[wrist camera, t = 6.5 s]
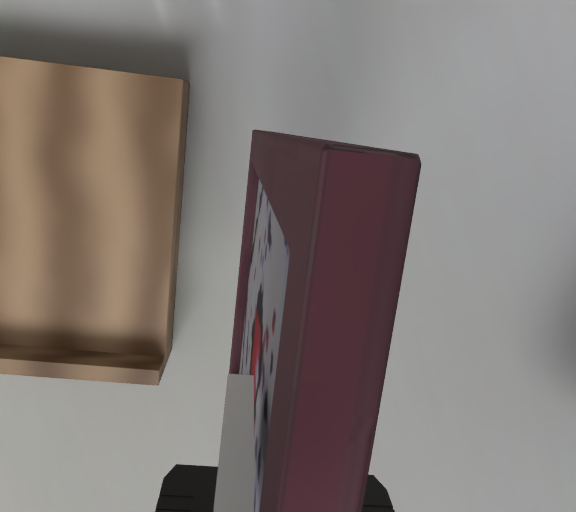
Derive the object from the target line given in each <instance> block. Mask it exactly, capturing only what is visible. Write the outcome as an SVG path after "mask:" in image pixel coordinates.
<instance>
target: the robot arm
mask: <svg viewBox="0 0 576 512" xmlns="http://www.w3.org/2000/svg"><path fill="white" fill-rule="evenodd" d="M155 512H254V376H253V375H241V374H228V380H227V389H226V398H225V407H224V417H223V426H222V435H221V445H220V454H219V463H218V467H211V466H195V465H179V464H176V465H175V466H174V467H173V469H172V470H171V471H170V472H169V473H168V474H167V475H166V476H165V477H164V479H163V483H162V487H161V491H160V495H159V498H158V502H157V506H156V511H155ZM362 512H395V511H394V510H393V506H392V503H391V500H390V497H389V495H388V492H387V490H386V488H385V487H384V486H383V485H382V484H381V483H380V482H379V481H378V480H377V479H376V478H375V476H374V475H368V478H367V483H366V489H365V495H364V501H363V507H362Z"/></svg>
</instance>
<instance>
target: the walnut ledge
mask: <svg viewBox="0 0 576 512" xmlns="http://www.w3.org/2000/svg"><path fill="white" fill-rule="evenodd" d="M189 89H190V84H189V83H188V82H186V81H185V80H183V79H176V78H168V77H161V76H153V75H145V74H137V73H129V72H121V71H113V70H105V69H97V68H89V67H81V66H73V65H65V64H57V63H49V62H41V61H33V60H25V59H18V58H10V57H2V56H0V374H10V375H23V376H37V377H50V378H64V379H77V380H91V381H104V382H118V383H131V384H145V385H159V382H160V380H161V377H162V374H163V371H164V369H165V366H166V363H167V361H168V358H169V355H170V353H171V350H172V335H173V321H174V306H175V292H176V277H177V263H178V248H179V234H180V219H181V205H182V190H183V176H184V161H185V147H186V132H187V118H188V104H189Z"/></svg>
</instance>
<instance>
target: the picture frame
mask: <svg viewBox="0 0 576 512" xmlns="http://www.w3.org/2000/svg"><path fill="white" fill-rule="evenodd" d="M420 169H421V161H420V158H419V155H418V154H414V153H407V152H401V151H394V150H387V149H381V148H374V147H368V146H361V145H355V144H348V143H342V142H335V141H329V140H322V139H316V138H309V137H303V136H296V135H289V134H283V133H276V132H269V131H261V130H253V132H252V143H251V153H250V163H249V173H248V184H247V194H246V204H245V215H244V225H243V235H242V246H241V256H240V266H239V277H238V287H237V297H236V308H235V318H234V328H233V339H232V349H231V359H230V370H229V374H241V375H253V376H254V512H362V507H363V501H364V495H365V489H366V483H367V478H368V472H369V466H370V460H371V454H372V449H373V443H374V437H375V431H376V425H377V419H378V414H379V408H380V402H381V396H382V390H383V385H384V379H385V373H386V367H387V361H388V355H389V350H390V344H391V338H392V332H393V326H394V321H395V315H396V309H397V303H398V297H399V291H400V286H401V280H402V274H403V268H404V262H405V257H406V251H407V245H408V239H409V233H410V227H411V222H412V216H413V210H414V204H415V198H416V193H417V187H418V181H419V175H420Z"/></svg>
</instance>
